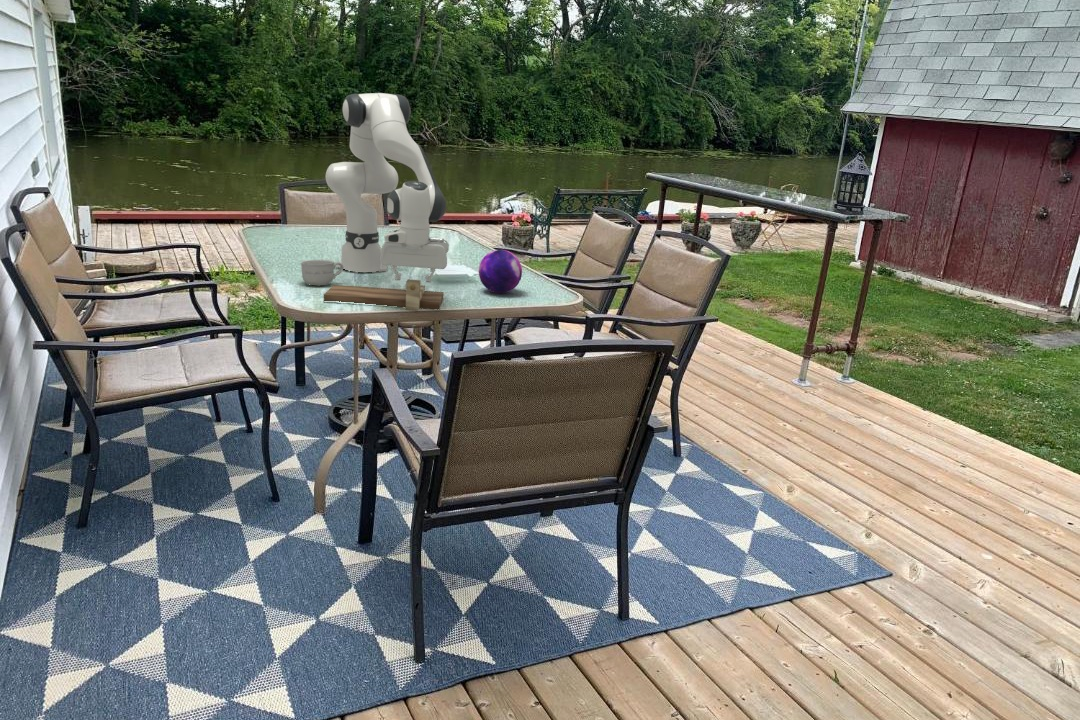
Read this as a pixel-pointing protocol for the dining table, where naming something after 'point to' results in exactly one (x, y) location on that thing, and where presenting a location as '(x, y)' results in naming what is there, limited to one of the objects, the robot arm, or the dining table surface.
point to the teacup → (319, 271)
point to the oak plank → (381, 296)
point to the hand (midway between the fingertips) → (413, 280)
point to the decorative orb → (500, 271)
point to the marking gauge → (414, 294)
